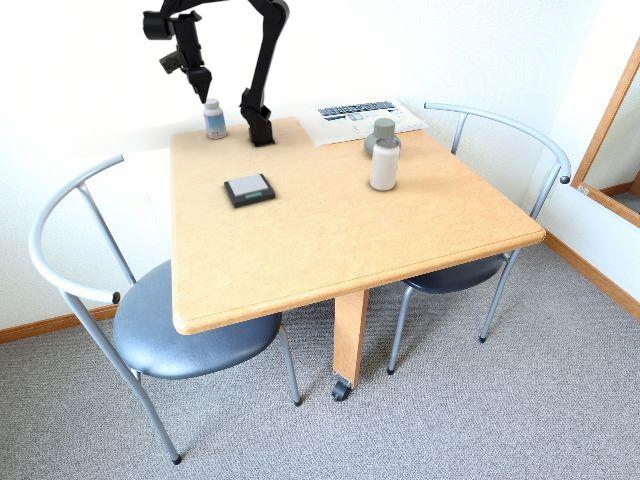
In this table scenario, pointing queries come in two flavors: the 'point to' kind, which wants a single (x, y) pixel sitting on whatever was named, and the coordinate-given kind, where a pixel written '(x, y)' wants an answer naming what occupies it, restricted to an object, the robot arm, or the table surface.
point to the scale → (249, 190)
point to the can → (384, 164)
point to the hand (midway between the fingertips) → (200, 98)
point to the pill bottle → (214, 119)
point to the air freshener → (381, 133)
